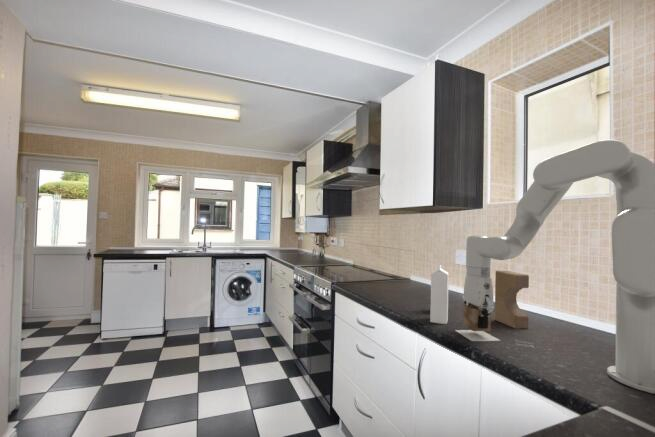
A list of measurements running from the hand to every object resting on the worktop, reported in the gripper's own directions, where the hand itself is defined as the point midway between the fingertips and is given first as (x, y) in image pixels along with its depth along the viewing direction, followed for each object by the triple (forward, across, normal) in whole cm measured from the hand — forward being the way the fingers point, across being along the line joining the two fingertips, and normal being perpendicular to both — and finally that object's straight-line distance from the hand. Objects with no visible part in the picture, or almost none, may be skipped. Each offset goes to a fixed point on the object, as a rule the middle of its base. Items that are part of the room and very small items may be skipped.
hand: (476, 324), depth 102 cm
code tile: (+4, -8, -11) cm, 14 cm away
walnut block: (+1, 0, 0) cm, 1 cm away
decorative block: (+4, +11, -22) cm, 25 cm away
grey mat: (+4, 0, 0) cm, 4 cm away
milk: (+4, +16, +5) cm, 17 cm away
